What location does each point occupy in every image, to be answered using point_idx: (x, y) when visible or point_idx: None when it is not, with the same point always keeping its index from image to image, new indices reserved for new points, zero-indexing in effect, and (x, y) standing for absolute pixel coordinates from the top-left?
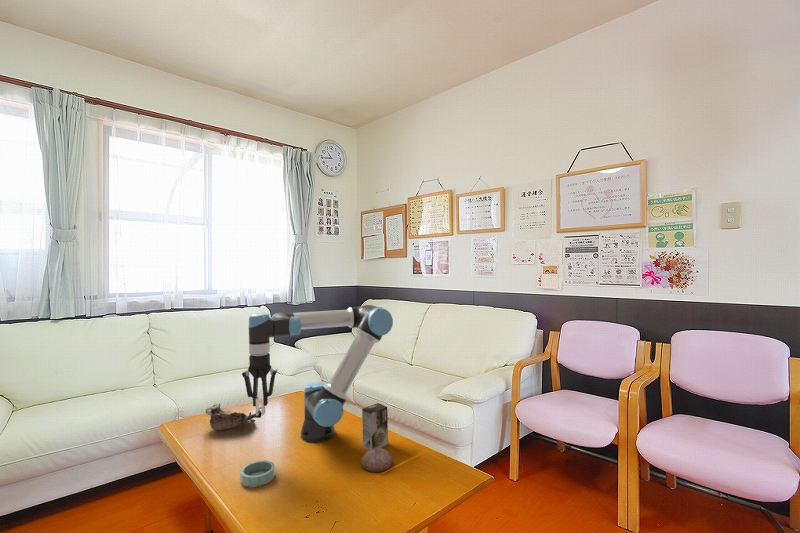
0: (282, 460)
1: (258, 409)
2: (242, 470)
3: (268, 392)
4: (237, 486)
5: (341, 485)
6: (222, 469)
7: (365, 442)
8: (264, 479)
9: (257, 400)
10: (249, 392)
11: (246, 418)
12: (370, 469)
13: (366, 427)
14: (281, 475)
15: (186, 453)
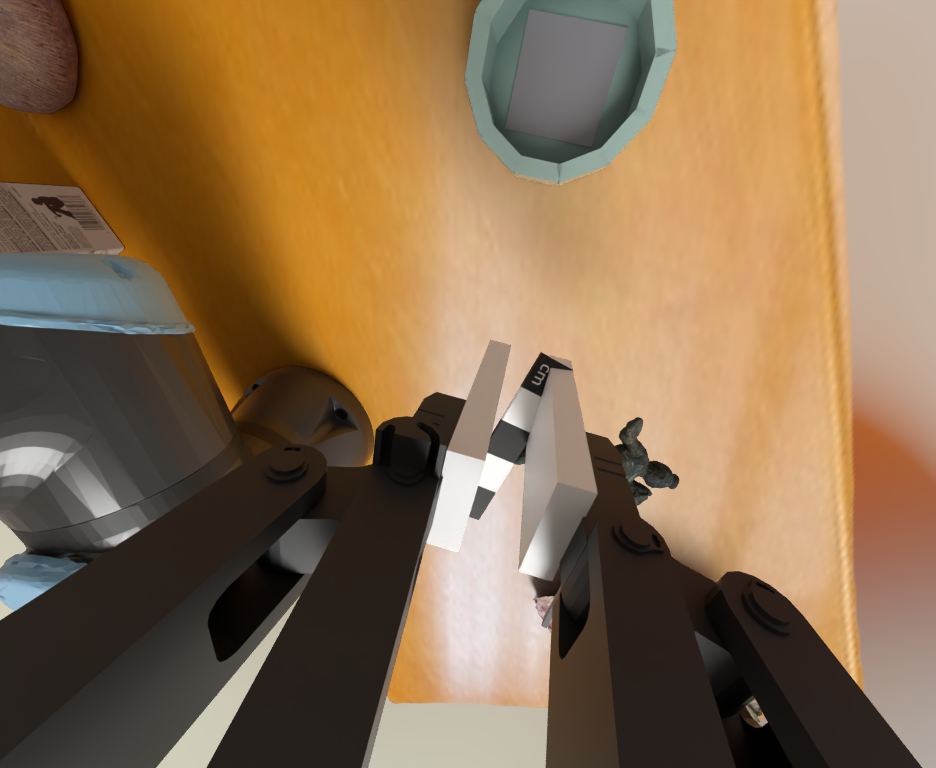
0: (439, 251)
1: (540, 408)
2: (658, 71)
3: (280, 514)
4: (679, 21)
5: None
6: (720, 268)
7: (82, 229)
8: None
9: (559, 459)
10: (815, 712)
11: (630, 459)
12: None
13: None
14: (442, 81)
15: (843, 487)
